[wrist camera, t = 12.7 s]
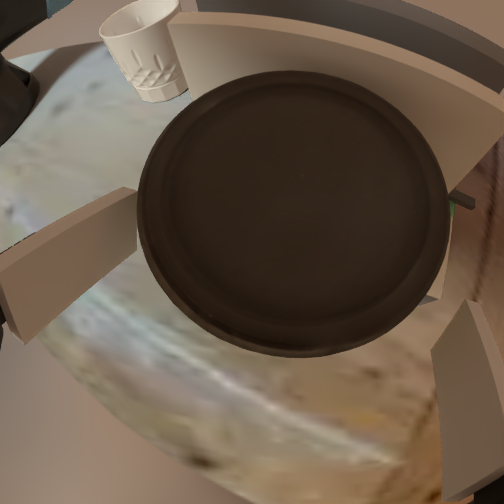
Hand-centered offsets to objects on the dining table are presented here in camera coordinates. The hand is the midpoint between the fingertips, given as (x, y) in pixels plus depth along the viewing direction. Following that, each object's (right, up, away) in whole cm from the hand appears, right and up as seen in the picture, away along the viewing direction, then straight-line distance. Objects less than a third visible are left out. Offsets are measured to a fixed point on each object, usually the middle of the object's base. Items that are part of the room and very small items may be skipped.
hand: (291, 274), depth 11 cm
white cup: (-11, +19, +19) cm, 29 cm away
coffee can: (+1, -1, +12) cm, 12 cm away
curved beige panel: (+5, +5, +12) cm, 14 cm away
